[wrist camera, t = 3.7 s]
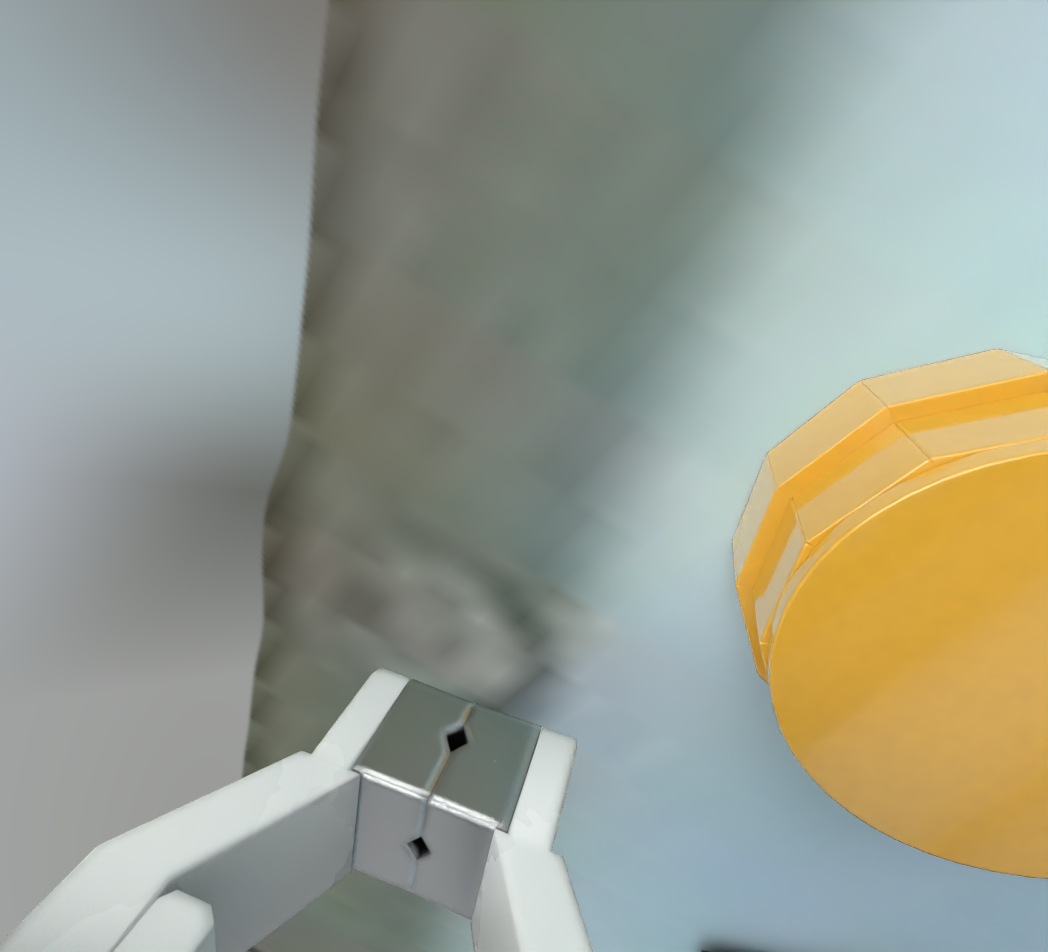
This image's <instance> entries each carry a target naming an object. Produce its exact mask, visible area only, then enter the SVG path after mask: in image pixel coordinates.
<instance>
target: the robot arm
mask: <svg viewBox="0 0 1048 952" xmlns="http://www.w3.org/2000/svg"><path fill="white" fill-rule="evenodd" d="M541 728H542V726H539V725H536V724H533V723H530V722H528V721H525V720H522V719H519V718H516V717H513V716H511V715H508V714H505V713H502V712H499V711H497V710H494V709H491V708H488V707H485V706H482V705H480V704H477V703H476V704H474V703H472V702H469V701H467V700H464V699H462V698H459V697H457V696H454V695H452V694H449V693H447V692H444V691H442V690H439V689H437V688H434V687H432V686H429V685H427V684H424V683H422V682H419V681H417V680H414V679H410V678H408V677H405V676H403V675H400V674H397V673H395V672H392V671H390V670H387V669H385V668H382V667H381V668H379V669H378V670H377V671H375V672H374V673H372V674H371V676H370V677H369V678H368V680H367V681H366V682H365V684H364V685H363V686H362V688H361V689H360V690H359V692H358V693H357V694H356V696H355V697H354V698H353V700H352V701H351V702H350V704H349V705H348V706H347V708H346V709H345V710H344V712H343V713H342V714H341V716H340V717H339V718H338V720H337V721H336V722H335V724H334V725H333V726H332V728H331V729H330V730H329V732H328V733H327V734H326V736H325V737H324V738H323V739H322V741H321V742H320V743H319V745H318V746H317V747H316V749H315V750H314V751H313V753H312V754H309V753H307V752H304V751H300V752H297V753H295V754H293V755H291V756H289V757H287V758H284V759H282V760H280V761H278V762H276V763H274V764H272V765H269V766H267V767H265V768H263V769H261V770H259V771H257V772H254V773H252V774H250V775H248V776H246V777H244V778H242V779H239V780H237V781H235V782H233V783H231V784H229V785H227V786H225V787H222V788H220V789H218V790H216V791H214V792H212V793H210V794H207V795H205V796H203V797H201V798H199V799H197V800H194V801H192V802H190V803H188V804H186V805H184V806H181V807H179V808H177V809H175V810H173V811H171V812H169V813H166V814H164V815H162V816H160V817H158V818H156V819H154V820H151V821H149V822H147V823H145V824H143V825H141V826H139V827H136V828H134V829H132V830H130V831H128V832H126V833H124V834H121V835H119V836H117V837H115V838H113V839H111V840H109V841H106V842H104V843H102V844H100V845H98V846H96V847H95V848H94V849H93V851H92V852H90V853H89V855H87V857H85V858H84V859H83V861H82V862H80V863H79V865H78V866H77V867H76V868H75V869H74V870H73V871H72V872H71V873H70V874H69V875H68V876H67V877H66V878H65V879H64V880H63V881H62V882H61V883H60V884H59V885H58V886H57V887H56V888H55V889H54V890H53V891H52V892H51V893H50V894H49V895H48V896H47V897H46V898H45V899H44V900H43V901H42V902H41V903H40V904H39V905H38V906H37V907H36V908H35V909H34V910H33V911H32V912H31V913H30V914H29V915H28V916H27V917H26V918H25V919H24V920H23V921H22V922H21V923H20V924H19V925H18V926H17V927H16V928H15V929H14V930H13V931H12V932H11V933H10V934H9V935H8V936H7V937H6V938H5V939H4V940H3V941H2V942H1V943H0V952H246V951H247V950H249V949H250V948H251V947H253V946H254V945H255V944H257V943H258V942H259V941H261V940H262V939H263V938H265V937H266V936H267V935H269V934H270V933H271V932H273V931H274V930H275V929H277V928H278V927H279V926H281V925H282V924H283V923H285V922H286V921H287V920H289V919H290V918H291V917H293V916H294V915H295V914H297V913H298V912H299V911H300V910H302V909H303V908H304V907H306V906H307V905H308V904H310V903H311V902H312V901H314V900H315V899H316V898H318V897H319V896H320V895H322V894H323V893H324V892H326V891H327V890H328V889H330V888H331V887H332V886H334V885H335V884H336V883H338V882H339V881H340V880H342V879H343V878H344V877H346V876H347V875H348V874H350V872H351V868H353V869H355V870H358V871H360V872H363V873H365V874H368V875H370V876H373V877H375V878H378V879H380V880H383V881H385V882H388V883H390V884H393V885H395V886H398V887H400V888H403V889H405V890H408V891H410V892H413V893H415V894H417V895H419V896H421V897H423V898H425V899H427V900H430V901H432V902H434V903H436V904H438V905H440V906H442V907H444V908H446V909H449V910H451V911H453V912H455V913H457V914H459V915H461V916H463V917H465V918H468V919H470V920H472V921H471V931H472V939H473V947H474V952H593V949H592V946H591V943H590V940H589V937H588V933H587V930H586V927H585V924H584V921H583V918H582V915H581V912H580V908H579V905H578V902H577V899H576V896H575V893H574V890H573V887H572V883H571V880H570V877H569V874H568V871H567V868H566V865H565V861H564V858H563V857H562V856H560V855H558V854H556V853H554V852H552V848H553V844H554V840H555V836H556V832H557V828H558V823H559V819H560V815H561V811H562V807H563V803H564V798H565V794H566V790H567V786H568V782H569V778H570V773H571V769H572V765H573V761H574V757H575V753H576V748H577V740H576V739H574V738H571V737H568V736H566V735H563V734H560V733H557V732H555V731H552V730H549V729H546V728H544V727H543V728H542V730H541ZM540 732H541V733H540ZM539 735H540V736H539Z"/></svg>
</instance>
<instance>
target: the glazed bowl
mask: <svg viewBox="0 0 1048 952" xmlns="http://www.w3.org/2000/svg"><path fill="white" fill-rule="evenodd" d="M732 548H733V560H734V572H735V584H736V590H737V594H738V598H739V602H740V606H741V610H742V614H743V618H744V622H745V626H746V630H747V634H748V638H749V642H750V646H751V650H752V654H753V658H754V662H755V666H756V670H757V673H758V674H759V676H760V677H761V678H762V679H763V680H764V681H765V682H767V683H768V684H769V686H770V692H771V699H772V705H773V709H774V712H775V715H776V718H777V721H778V724H779V727H780V731H781V734H782V735H783V736H784V738H785V740H786V741H787V743H788V745H789V747H790V749H791V751H792V753H793V754H794V755H795V757H796V758H797V760H798V761H799V762H800V764H801V765H802V767H803V768H804V769H805V771H806V772H807V773H808V775H809V776H810V777H811V778H812V779H813V780H814V781H815V782H816V783H817V784H818V785H819V786H820V787H821V788H822V789H823V790H824V791H825V792H826V793H827V794H828V795H829V796H830V797H831V798H833V799H834V800H835V801H836V802H837V803H839V804H840V805H841V806H842V807H843V808H845V809H846V810H847V811H848V812H850V813H851V814H853V815H854V816H856V817H857V818H859V819H860V820H862V821H863V822H865V823H866V824H868V825H869V826H871V827H873V828H875V829H876V830H878V831H880V832H882V833H884V834H886V835H888V836H890V837H892V838H893V839H895V840H897V841H899V842H902V843H904V844H906V845H909V846H911V847H914V848H916V849H918V850H921V851H923V852H926V853H928V854H931V855H934V856H937V857H940V858H944V859H947V860H950V861H953V862H956V863H959V864H963V865H967V866H972V867H976V868H980V869H984V870H989V871H993V872H999V873H1005V874H1012V875H1018V876H1025V877H1032V878H1045V879H1048V360H1047V359H1043V358H1038V357H1034V356H1029V355H1025V354H1020V353H1016V352H1011V351H1006V350H1002V349H997V350H996V349H992V350H988V351H984V352H979V353H975V354H971V355H967V356H962V357H958V358H954V359H949V360H945V361H941V362H937V363H932V364H928V365H924V366H920V367H915V368H911V369H907V370H902V371H898V372H894V373H890V374H885V375H881V376H877V377H873V378H868V379H864V380H861V381H859V382H857V383H856V384H854V385H853V386H852V387H851V388H849V389H848V390H847V391H845V392H844V393H843V394H842V395H840V396H839V397H838V398H837V399H835V400H834V401H833V402H832V403H830V404H829V405H828V406H826V407H825V408H824V409H823V410H821V411H820V412H819V413H818V414H816V415H815V416H814V417H812V418H811V419H810V420H809V421H807V422H806V423H805V424H804V425H802V426H801V427H800V428H799V429H797V430H796V431H795V432H793V433H792V434H791V435H790V436H788V437H787V438H786V439H785V440H783V441H782V442H781V443H779V444H778V445H777V446H776V447H774V448H773V449H772V450H771V451H769V452H768V453H767V455H766V456H765V459H764V461H763V464H762V466H761V469H760V471H759V474H758V476H757V479H756V481H755V484H754V486H753V489H752V492H751V494H750V497H749V499H748V502H747V504H746V507H745V509H744V512H743V514H742V517H741V519H740V522H739V524H738V527H737V529H736V532H735V534H734V537H733V539H732Z"/></svg>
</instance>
